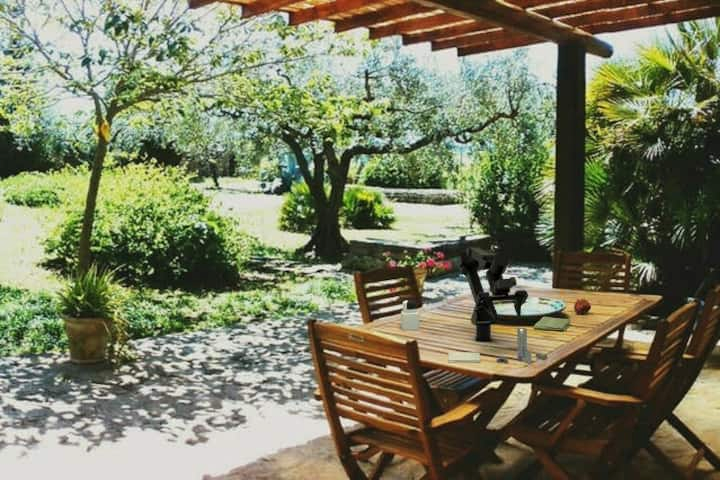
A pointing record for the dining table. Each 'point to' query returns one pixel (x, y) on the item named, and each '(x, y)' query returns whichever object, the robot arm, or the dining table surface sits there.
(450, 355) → the cream ceramic tile
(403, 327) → the medicine bottle
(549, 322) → the washcloth
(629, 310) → the dining table surface
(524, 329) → the steel hook
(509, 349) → the dining table surface
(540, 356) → the vise jaws
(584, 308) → the red spiky fruit
